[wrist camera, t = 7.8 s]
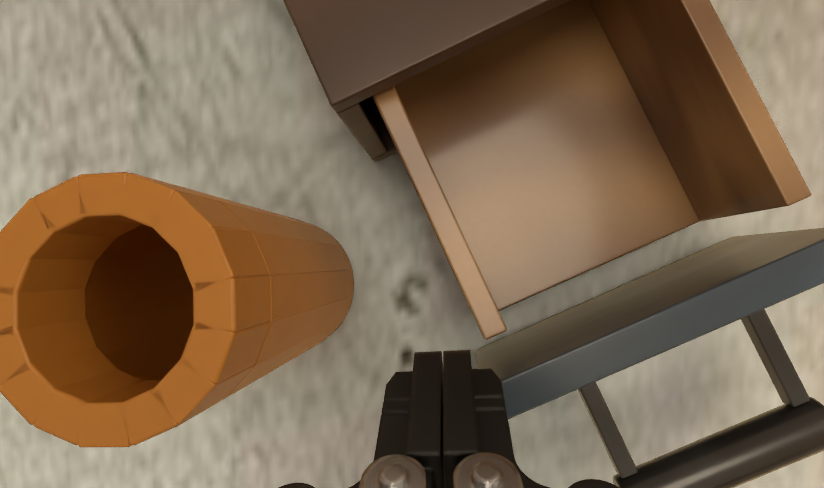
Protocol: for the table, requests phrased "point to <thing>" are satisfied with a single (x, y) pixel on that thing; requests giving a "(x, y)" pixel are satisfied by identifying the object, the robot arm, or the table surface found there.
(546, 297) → the table surface
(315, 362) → the table surface
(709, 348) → the table surface
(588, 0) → the drawer
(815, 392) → the table surface
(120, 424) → the jar
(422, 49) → the cabinet
